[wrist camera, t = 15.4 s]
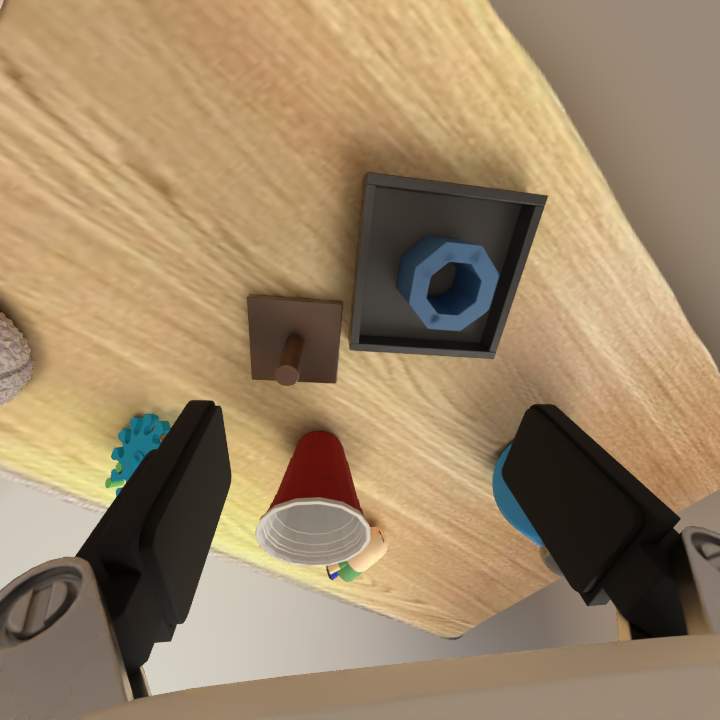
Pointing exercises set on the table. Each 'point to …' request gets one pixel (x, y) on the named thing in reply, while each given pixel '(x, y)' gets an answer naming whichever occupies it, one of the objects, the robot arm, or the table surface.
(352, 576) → the toy figurine
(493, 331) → the tray
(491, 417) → the table surface
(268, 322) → the dowel stand
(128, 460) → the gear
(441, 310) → the ring
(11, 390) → the sea urchin shell
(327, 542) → the plastic cup
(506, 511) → the alarm clock
